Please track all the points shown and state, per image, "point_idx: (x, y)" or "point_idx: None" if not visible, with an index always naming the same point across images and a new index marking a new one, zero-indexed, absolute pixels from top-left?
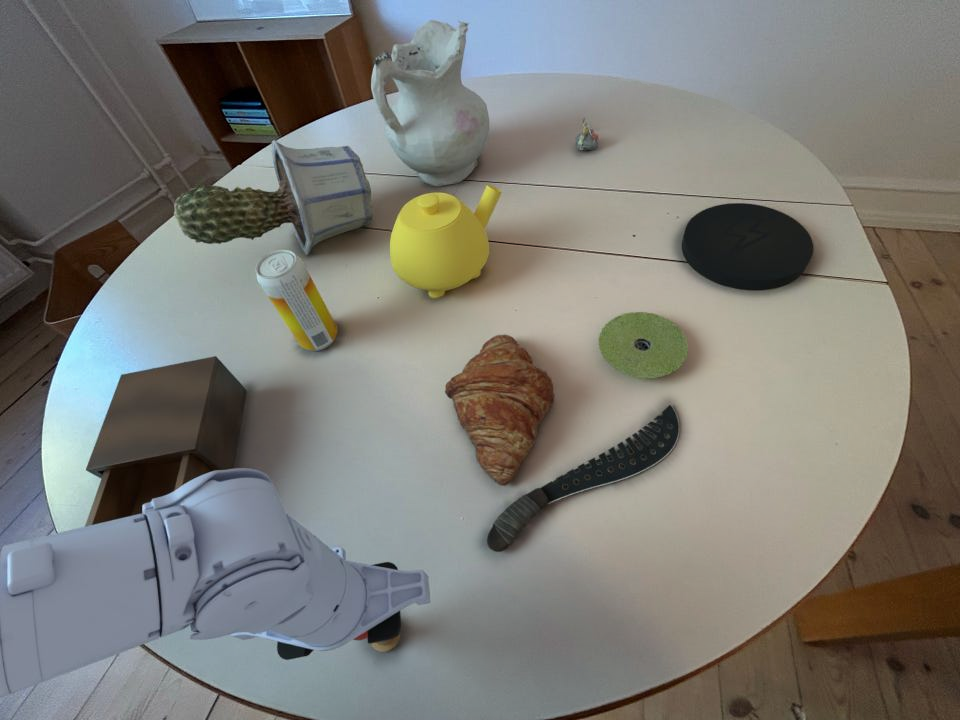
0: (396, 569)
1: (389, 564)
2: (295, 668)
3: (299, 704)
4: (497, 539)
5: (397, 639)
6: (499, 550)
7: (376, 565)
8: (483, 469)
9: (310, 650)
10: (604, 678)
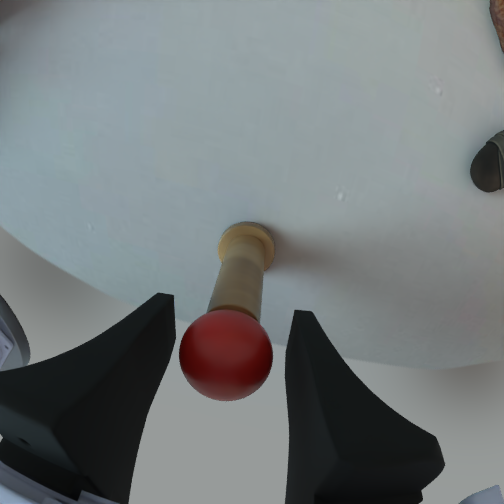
0: (439, 471)
1: (429, 464)
2: (98, 250)
3: (112, 293)
4: (492, 174)
5: (268, 266)
6: (485, 191)
7: (381, 472)
8: (501, 35)
9: (126, 498)
10: (482, 352)
